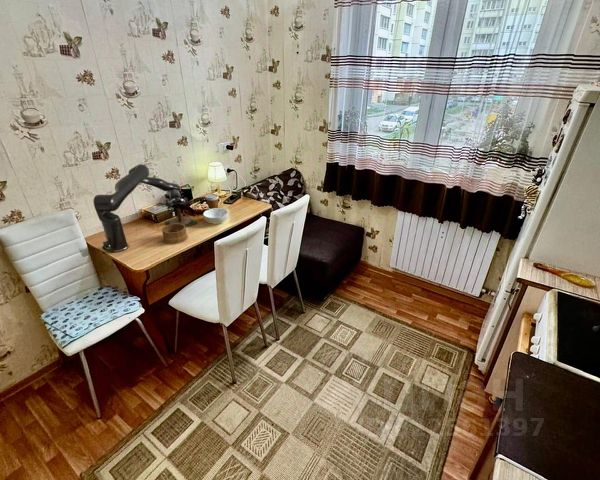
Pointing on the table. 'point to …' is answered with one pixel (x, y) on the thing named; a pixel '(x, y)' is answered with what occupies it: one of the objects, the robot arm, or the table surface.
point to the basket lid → (180, 219)
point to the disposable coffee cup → (212, 200)
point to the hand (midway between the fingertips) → (177, 205)
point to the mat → (185, 225)
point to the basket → (174, 233)
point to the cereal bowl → (215, 215)
